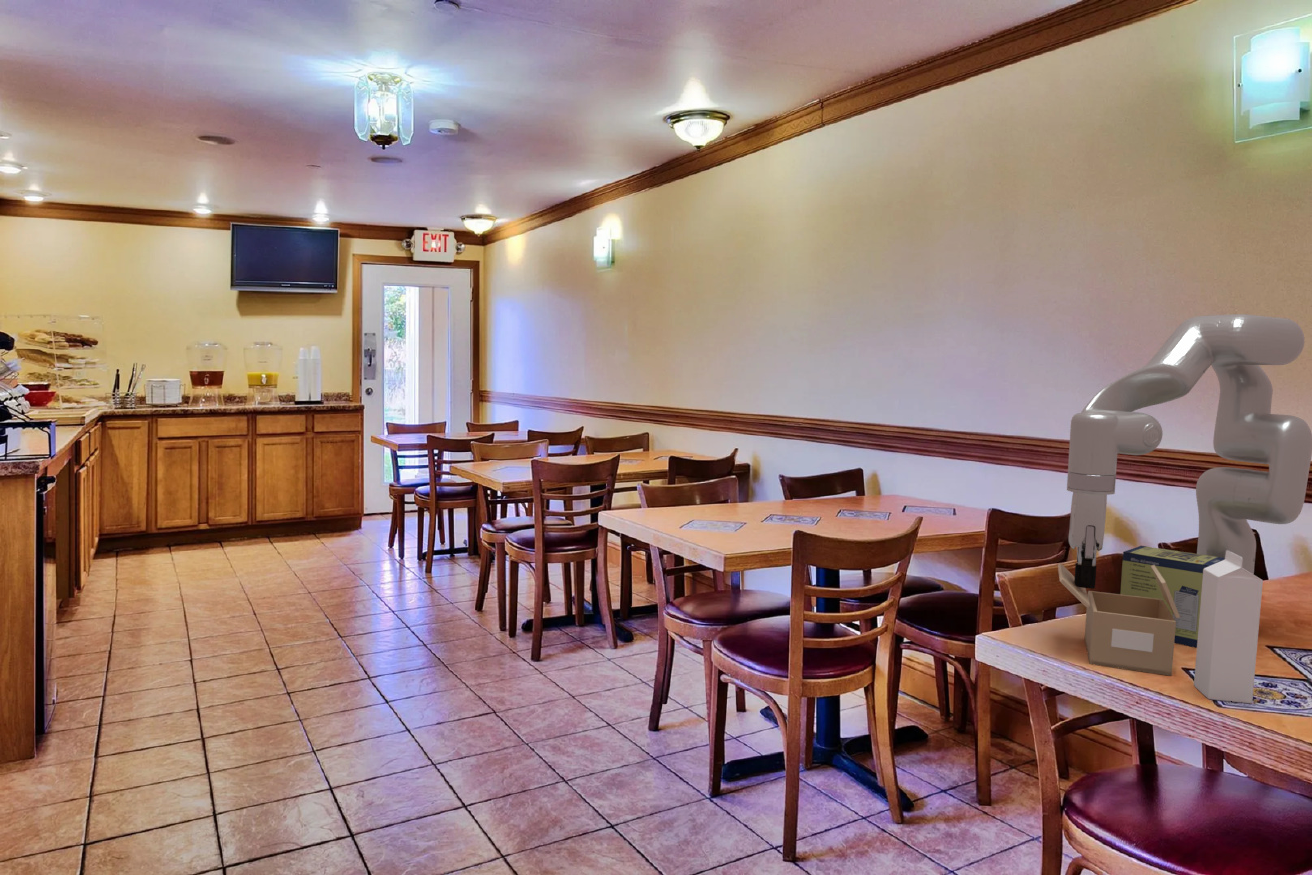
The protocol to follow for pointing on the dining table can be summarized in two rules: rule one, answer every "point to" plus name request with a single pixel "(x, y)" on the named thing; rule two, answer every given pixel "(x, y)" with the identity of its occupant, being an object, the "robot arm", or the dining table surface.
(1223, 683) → the milk
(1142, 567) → the protein box
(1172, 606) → the flap
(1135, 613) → the carton
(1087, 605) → the flap
